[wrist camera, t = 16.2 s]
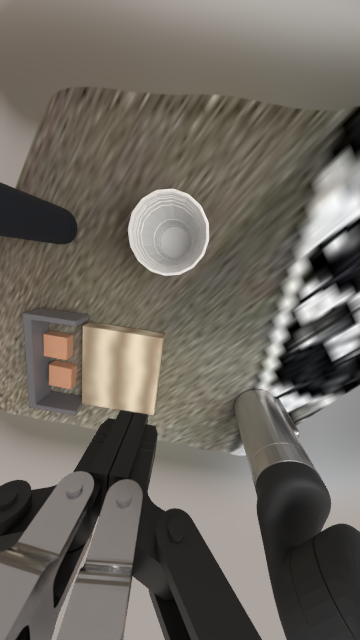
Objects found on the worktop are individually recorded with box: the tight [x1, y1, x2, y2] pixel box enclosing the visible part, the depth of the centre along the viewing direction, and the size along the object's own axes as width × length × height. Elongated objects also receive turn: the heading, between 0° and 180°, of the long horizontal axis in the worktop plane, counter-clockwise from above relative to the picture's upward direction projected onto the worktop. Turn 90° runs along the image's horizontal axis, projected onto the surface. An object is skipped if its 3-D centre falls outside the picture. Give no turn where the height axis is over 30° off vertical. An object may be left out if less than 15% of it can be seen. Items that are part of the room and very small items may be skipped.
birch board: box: [82, 322, 165, 415], centre depth 45 cm, size 16×18×3 cm
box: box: [23, 308, 89, 415], centre depth 45 cm, size 10×21×5 cm, turn 172°
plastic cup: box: [128, 189, 209, 276], centre depth 33 cm, size 11×11×12 cm
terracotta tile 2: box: [49, 360, 77, 389], centre depth 47 cm, size 5×5×2 cm
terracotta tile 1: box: [43, 331, 73, 360], centre depth 45 cm, size 5×5×2 cm
